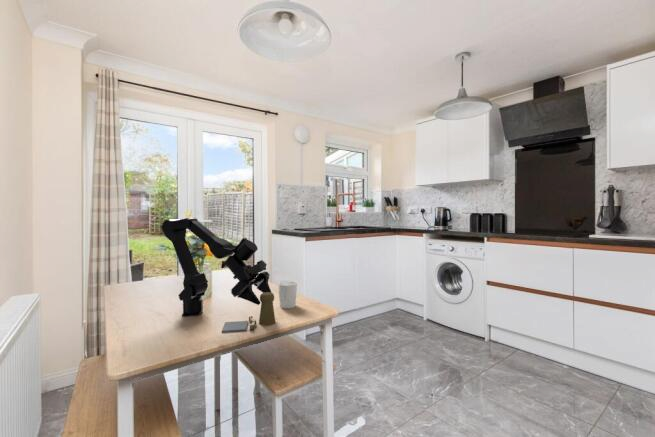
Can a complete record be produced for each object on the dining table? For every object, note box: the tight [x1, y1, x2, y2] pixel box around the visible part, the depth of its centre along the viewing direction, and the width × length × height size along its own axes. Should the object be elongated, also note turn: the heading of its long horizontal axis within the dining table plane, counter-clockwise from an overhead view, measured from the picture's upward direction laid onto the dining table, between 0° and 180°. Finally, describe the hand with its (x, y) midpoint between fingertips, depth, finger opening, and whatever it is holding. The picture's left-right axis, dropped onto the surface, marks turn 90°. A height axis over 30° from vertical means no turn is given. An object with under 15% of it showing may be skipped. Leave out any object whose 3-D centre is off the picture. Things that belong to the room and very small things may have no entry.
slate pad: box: [221, 320, 249, 334], centre depth 107 cm, size 8×8×1 cm
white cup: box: [277, 280, 298, 310], centre depth 130 cm, size 8×8×10 cm
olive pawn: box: [258, 291, 276, 327], centre depth 111 cm, size 6×6×11 cm
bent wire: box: [248, 315, 257, 332], centre depth 108 cm, size 3×10×2 cm, turn 11°
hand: (266, 300), depth 111 cm, fingers open, 9 cm apart
